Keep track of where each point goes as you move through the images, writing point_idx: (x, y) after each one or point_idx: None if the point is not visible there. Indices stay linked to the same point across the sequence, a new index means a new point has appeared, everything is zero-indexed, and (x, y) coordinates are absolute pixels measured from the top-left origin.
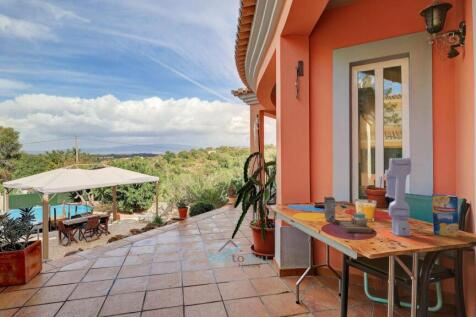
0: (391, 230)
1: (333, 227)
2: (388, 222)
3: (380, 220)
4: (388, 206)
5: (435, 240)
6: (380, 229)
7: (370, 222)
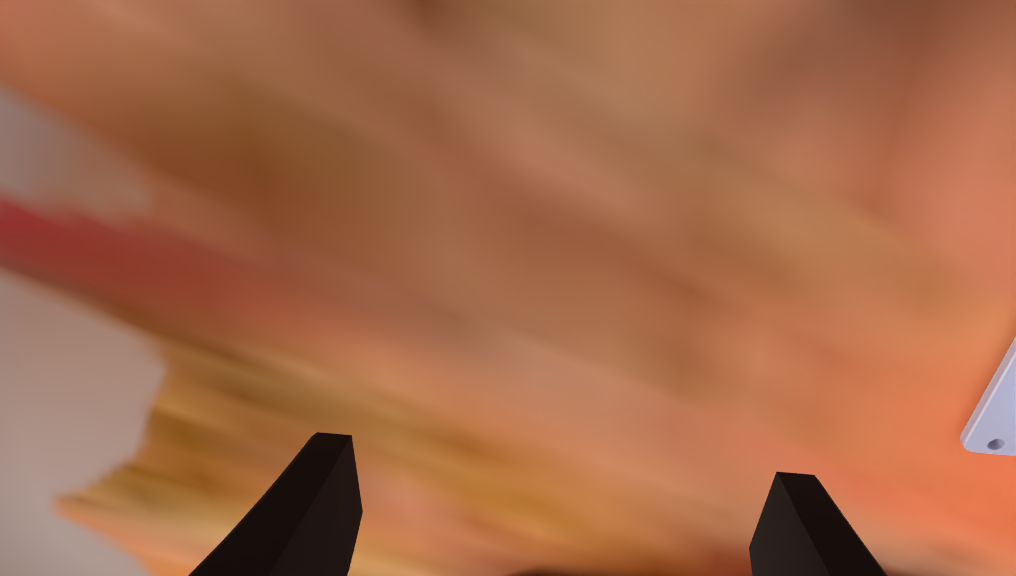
0: (986, 427)
1: None
2: (272, 154)
3: (115, 227)
4: (338, 564)
5: None
6: None
7: None
